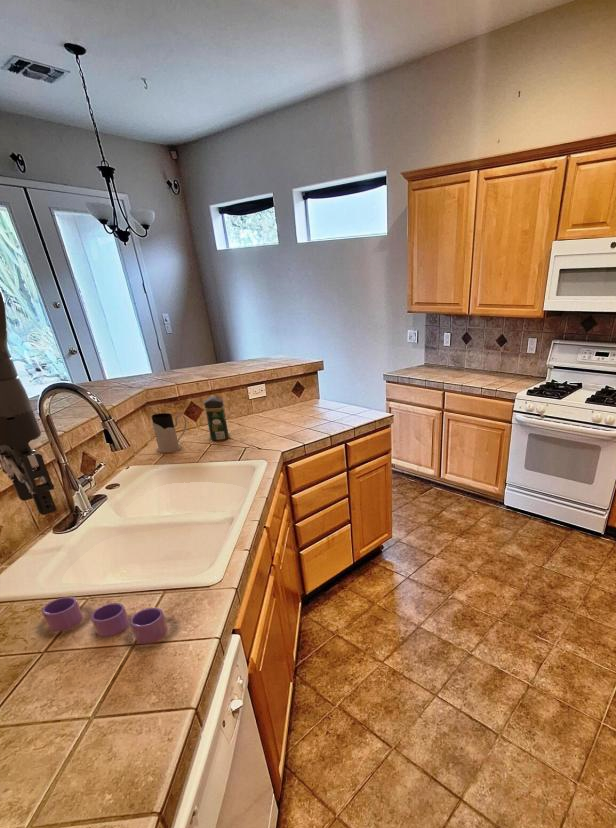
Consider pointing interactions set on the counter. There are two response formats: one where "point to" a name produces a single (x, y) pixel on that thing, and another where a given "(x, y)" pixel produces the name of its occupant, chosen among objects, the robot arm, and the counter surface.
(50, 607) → the purple short hollow cylinder
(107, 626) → the dish middle
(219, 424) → the coffee jar
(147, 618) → the dish far
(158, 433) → the grey mug
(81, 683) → the counter surface
